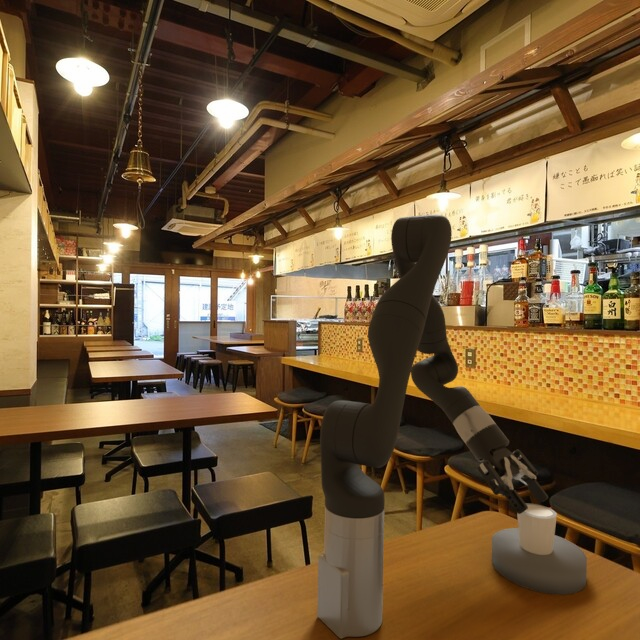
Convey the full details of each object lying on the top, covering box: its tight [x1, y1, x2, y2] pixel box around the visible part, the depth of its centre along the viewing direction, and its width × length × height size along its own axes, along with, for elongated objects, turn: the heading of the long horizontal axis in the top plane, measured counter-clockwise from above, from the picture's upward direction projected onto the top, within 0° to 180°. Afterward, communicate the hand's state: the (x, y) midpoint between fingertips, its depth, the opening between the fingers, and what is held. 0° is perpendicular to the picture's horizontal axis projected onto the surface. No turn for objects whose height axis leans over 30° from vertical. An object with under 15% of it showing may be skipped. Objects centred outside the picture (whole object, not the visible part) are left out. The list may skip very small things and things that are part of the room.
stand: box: [491, 527, 588, 596], centre depth 85 cm, size 16×16×4 cm
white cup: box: [516, 502, 558, 555], centre depth 85 cm, size 7×7×7 cm
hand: (534, 505), depth 85 cm, fingers open, 8 cm apart
